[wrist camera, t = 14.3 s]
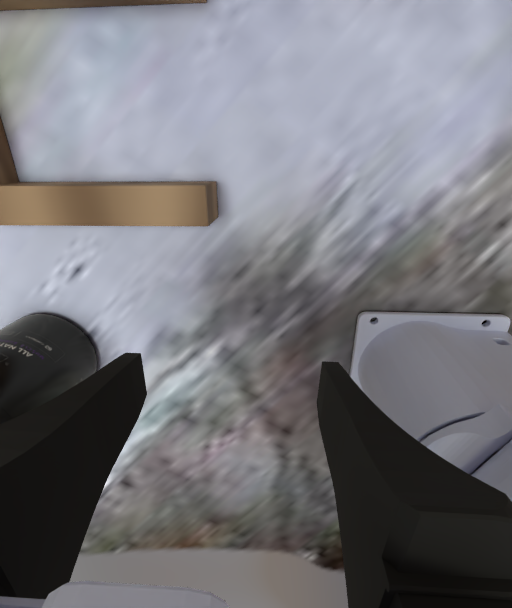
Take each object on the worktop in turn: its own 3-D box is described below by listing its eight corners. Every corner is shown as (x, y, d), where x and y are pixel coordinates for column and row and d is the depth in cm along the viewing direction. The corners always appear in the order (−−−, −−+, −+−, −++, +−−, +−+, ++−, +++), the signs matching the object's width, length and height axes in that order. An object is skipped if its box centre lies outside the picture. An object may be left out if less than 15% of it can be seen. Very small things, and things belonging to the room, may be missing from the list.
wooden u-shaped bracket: (203, -55, 15) (186, -104, 12) (218, 216, 20) (208, 226, 17) (-86, -41, 15) (-164, -84, 13) (-2, 215, 20) (-45, 224, 18)
